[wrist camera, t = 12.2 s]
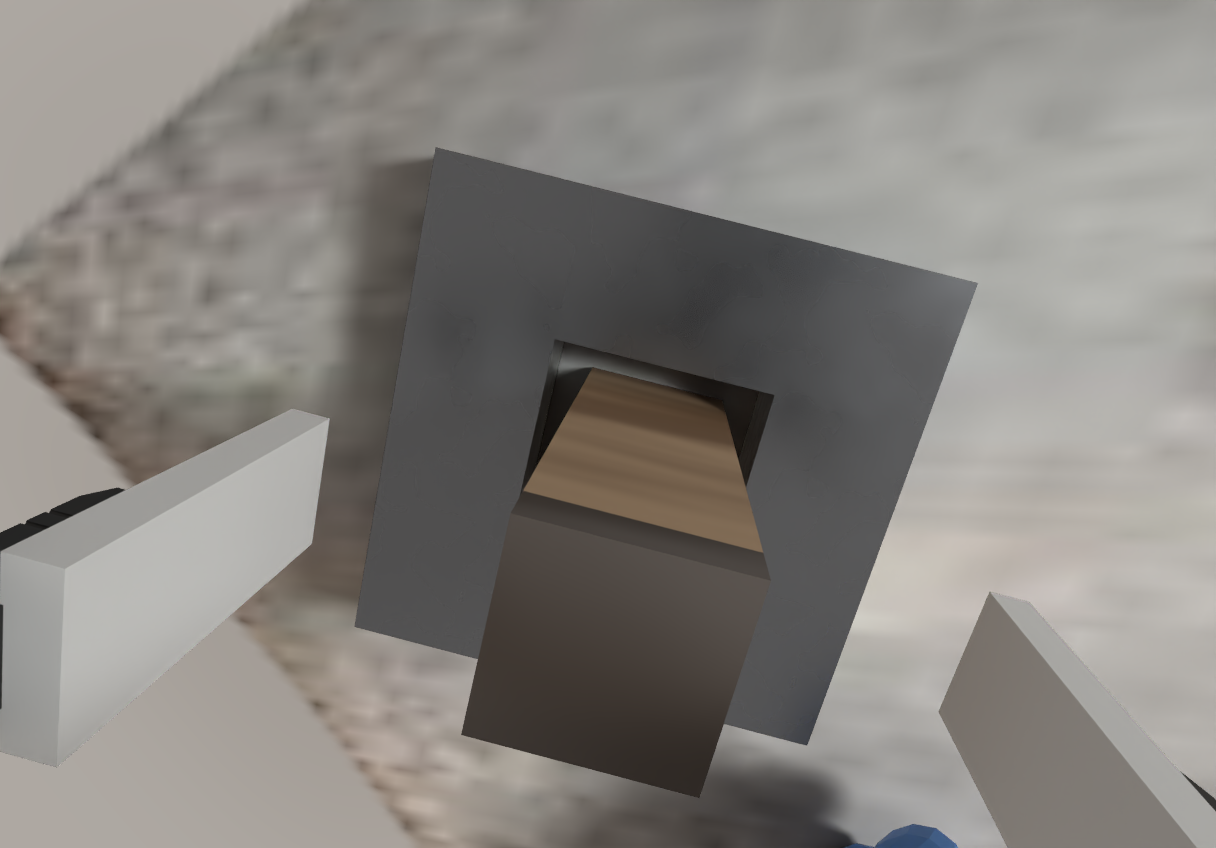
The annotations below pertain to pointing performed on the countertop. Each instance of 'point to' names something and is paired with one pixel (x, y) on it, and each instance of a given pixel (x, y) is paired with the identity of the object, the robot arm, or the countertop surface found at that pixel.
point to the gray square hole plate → (665, 336)
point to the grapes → (912, 839)
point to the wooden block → (624, 590)
